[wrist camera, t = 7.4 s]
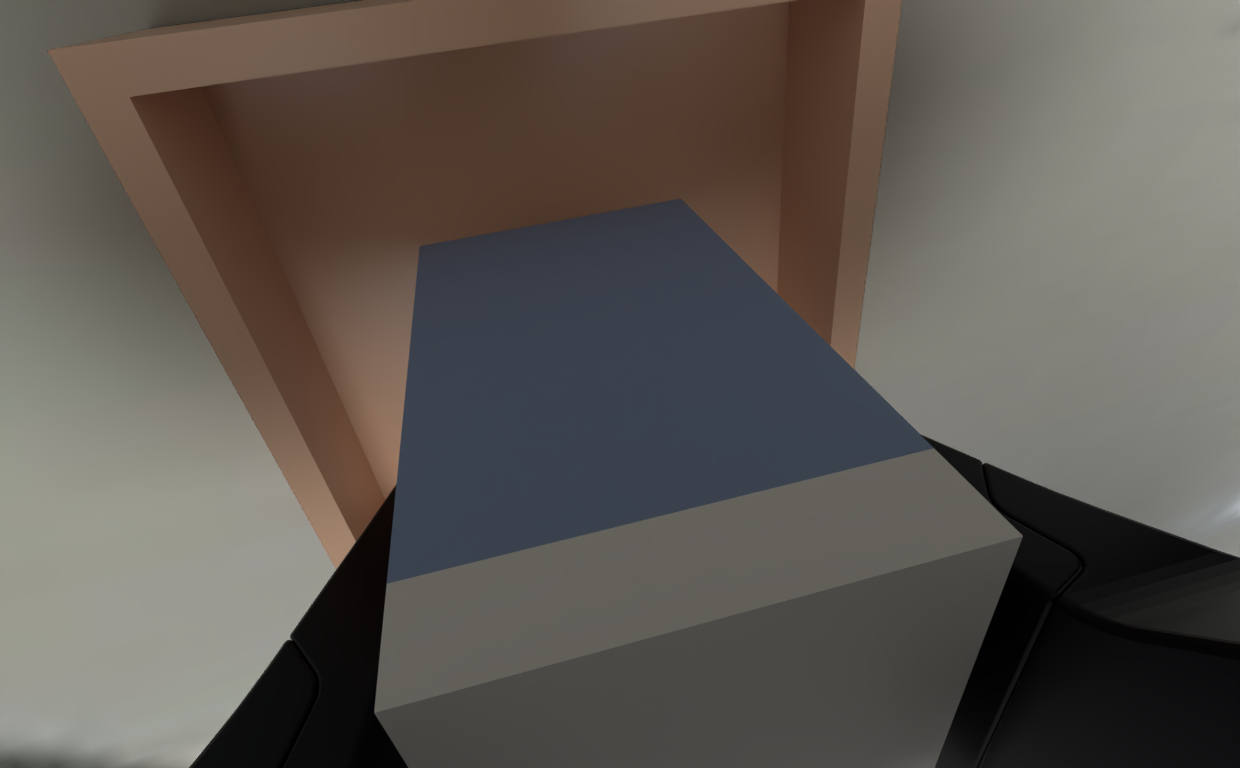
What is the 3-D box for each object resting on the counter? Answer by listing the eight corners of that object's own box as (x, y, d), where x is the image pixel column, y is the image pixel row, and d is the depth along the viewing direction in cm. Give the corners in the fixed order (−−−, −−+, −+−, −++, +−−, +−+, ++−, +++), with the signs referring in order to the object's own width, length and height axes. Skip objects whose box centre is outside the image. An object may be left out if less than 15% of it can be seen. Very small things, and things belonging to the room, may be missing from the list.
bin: (781, 424, 18) (837, 500, 15) (377, 519, 16) (364, 620, 14) (807, -59, 11) (910, -66, 9) (148, 28, 10) (47, 50, 7)
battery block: (691, 404, 14) (917, 811, 7) (482, 452, 13) (517, 941, 6) (680, 198, 11) (1023, 536, 4) (419, 246, 10) (375, 712, 4)
